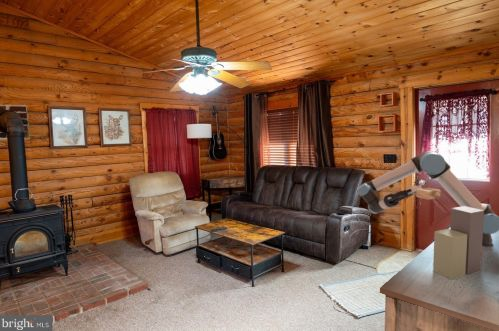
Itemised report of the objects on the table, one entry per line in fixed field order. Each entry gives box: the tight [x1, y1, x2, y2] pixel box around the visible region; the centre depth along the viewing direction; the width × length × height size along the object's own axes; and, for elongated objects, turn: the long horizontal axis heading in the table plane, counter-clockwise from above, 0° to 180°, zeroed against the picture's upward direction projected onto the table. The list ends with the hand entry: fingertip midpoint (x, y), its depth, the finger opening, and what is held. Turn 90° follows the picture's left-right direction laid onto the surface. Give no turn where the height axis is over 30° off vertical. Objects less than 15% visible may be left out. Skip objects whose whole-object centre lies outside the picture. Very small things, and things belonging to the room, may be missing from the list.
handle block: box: [405, 186, 441, 201], centre depth 164 cm, size 8×16×4 cm, turn 20°
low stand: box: [432, 228, 467, 280], centre depth 151 cm, size 9×10×20 cm
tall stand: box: [449, 206, 484, 276], centre depth 154 cm, size 9×10×30 cm
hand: (418, 187), depth 165 cm, fingers closed on handle block, 2 cm apart
